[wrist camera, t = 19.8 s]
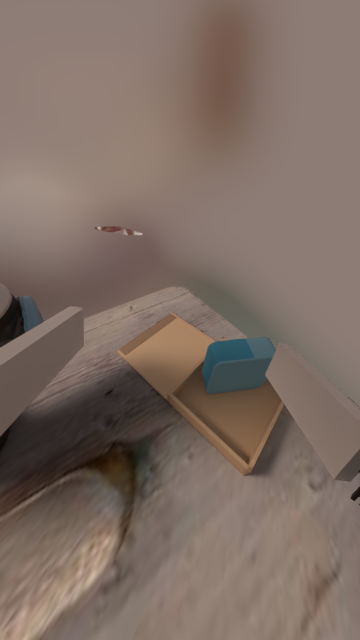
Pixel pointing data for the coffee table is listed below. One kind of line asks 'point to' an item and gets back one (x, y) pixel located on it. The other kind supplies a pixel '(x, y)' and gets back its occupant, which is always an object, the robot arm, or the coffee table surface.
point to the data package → (237, 364)
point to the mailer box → (204, 391)
